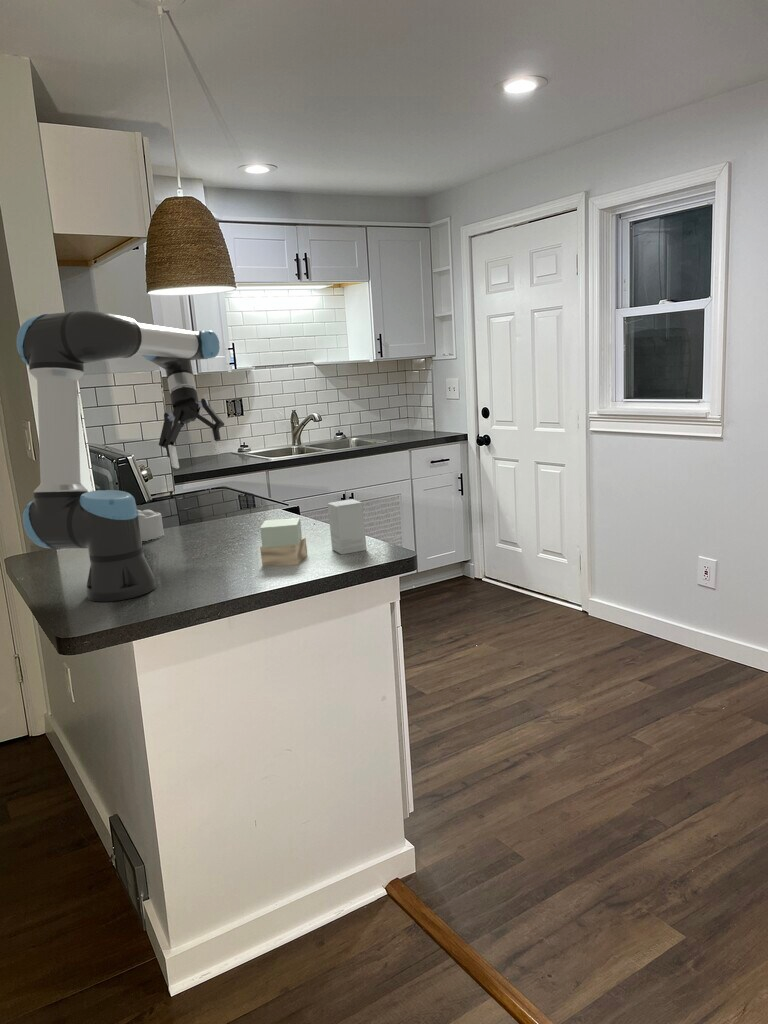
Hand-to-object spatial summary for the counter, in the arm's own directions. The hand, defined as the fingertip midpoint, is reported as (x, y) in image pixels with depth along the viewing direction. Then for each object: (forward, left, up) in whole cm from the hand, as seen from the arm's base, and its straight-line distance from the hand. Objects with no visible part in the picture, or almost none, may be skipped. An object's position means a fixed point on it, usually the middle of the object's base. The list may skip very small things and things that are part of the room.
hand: (196, 459), depth 215 cm
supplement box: (-13, -45, -25) cm, 53 cm away
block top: (-21, -31, -20) cm, 42 cm away
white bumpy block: (+10, +26, -25) cm, 37 cm away
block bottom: (-21, -31, -25) cm, 45 cm away
